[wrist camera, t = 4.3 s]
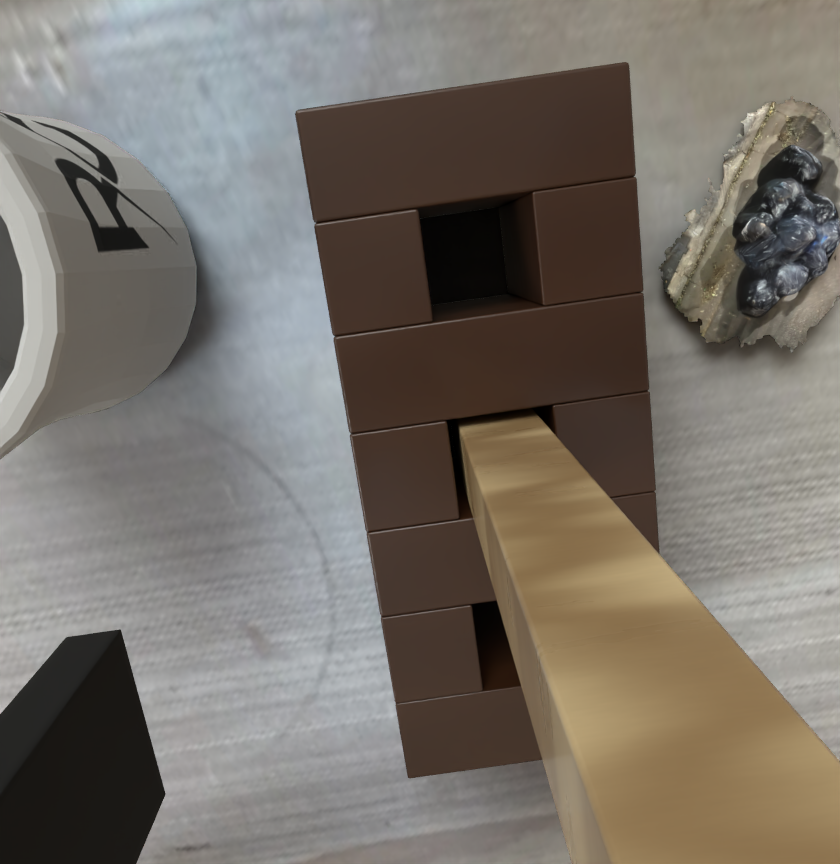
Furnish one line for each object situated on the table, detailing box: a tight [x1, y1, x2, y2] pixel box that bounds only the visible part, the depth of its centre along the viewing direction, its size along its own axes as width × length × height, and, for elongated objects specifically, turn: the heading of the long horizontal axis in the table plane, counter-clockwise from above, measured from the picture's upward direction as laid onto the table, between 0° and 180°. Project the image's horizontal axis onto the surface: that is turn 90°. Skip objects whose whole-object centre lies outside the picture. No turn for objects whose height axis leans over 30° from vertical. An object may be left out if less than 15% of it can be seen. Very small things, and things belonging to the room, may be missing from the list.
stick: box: [450, 408, 840, 864], centre depth 14 cm, size 2×2×22 cm
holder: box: [295, 62, 659, 778], centre depth 22 cm, size 19×8×6 cm, turn 8°
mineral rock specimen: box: [659, 97, 840, 352], centre depth 23 cm, size 7×8×2 cm
